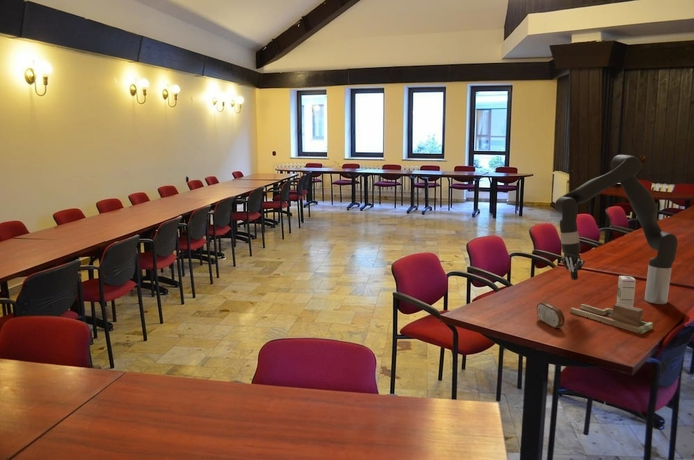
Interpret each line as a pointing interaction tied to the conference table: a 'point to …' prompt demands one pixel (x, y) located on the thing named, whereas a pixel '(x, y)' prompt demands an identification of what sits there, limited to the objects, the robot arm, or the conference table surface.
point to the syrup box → (626, 290)
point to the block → (627, 314)
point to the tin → (550, 315)
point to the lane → (609, 312)
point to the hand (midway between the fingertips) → (574, 279)
